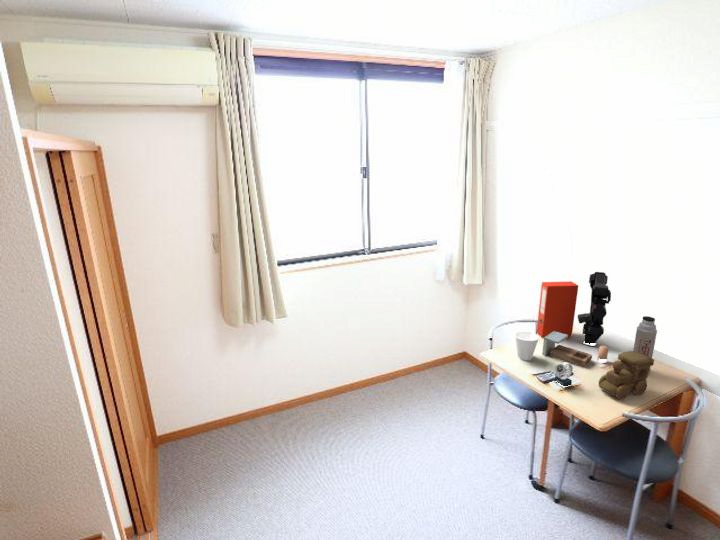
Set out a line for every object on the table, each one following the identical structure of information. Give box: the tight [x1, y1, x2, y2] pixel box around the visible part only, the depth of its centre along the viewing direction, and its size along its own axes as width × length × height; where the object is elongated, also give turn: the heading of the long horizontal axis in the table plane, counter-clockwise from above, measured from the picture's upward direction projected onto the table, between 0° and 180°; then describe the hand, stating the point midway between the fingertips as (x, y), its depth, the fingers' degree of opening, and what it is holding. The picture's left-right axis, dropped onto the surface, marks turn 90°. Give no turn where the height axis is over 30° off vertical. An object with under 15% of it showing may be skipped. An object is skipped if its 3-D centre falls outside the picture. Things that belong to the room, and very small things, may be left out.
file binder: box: [536, 280, 579, 339], centre depth 241 cm, size 8×17×32 cm, turn 90°
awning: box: [541, 331, 569, 357], centre depth 222 cm, size 12×8×10 cm, turn 132°
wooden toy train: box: [598, 350, 655, 401], centre depth 185 cm, size 20×11×17 cm, turn 109°
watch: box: [554, 361, 574, 386], centre depth 192 cm, size 6×8×11 cm
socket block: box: [549, 344, 593, 369], centre depth 216 cm, size 10×17×4 cm, turn 42°
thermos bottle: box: [632, 315, 658, 375], centre depth 200 cm, size 8×8×28 cm
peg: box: [597, 345, 610, 360], centre depth 212 cm, size 4×4×8 cm
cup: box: [514, 330, 540, 361], centre depth 218 cm, size 12×12×12 cm
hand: (593, 339), depth 210 cm, fingers open, 9 cm apart
